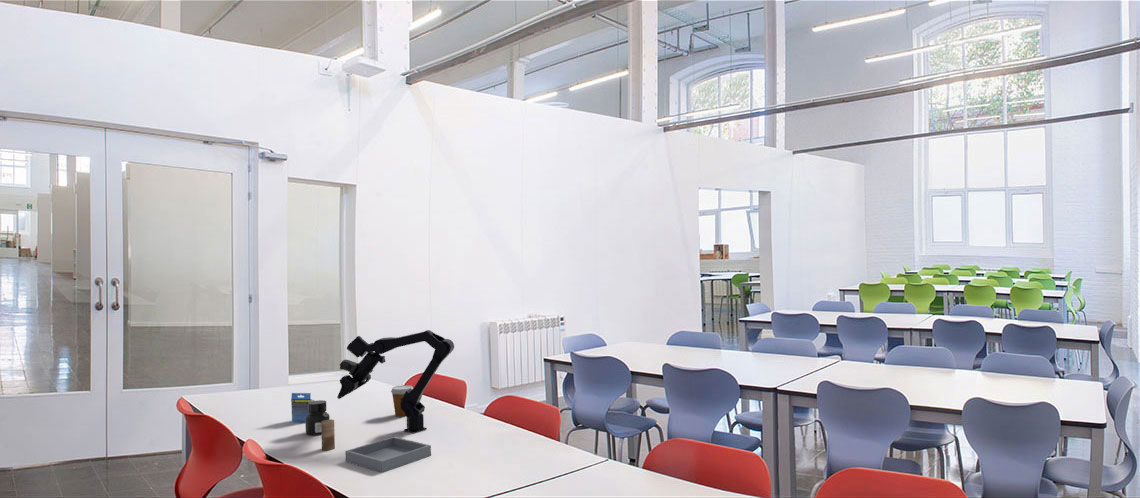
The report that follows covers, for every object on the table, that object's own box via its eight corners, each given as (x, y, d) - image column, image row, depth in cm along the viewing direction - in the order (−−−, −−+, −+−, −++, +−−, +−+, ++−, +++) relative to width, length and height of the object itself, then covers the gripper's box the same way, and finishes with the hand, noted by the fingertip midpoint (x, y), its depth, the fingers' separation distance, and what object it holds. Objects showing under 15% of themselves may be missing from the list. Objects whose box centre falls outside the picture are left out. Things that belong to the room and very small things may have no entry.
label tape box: (316, 419, 274) (315, 390, 274) (311, 422, 270) (310, 393, 270) (296, 419, 275) (295, 391, 275) (291, 422, 271) (290, 393, 271)
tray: (431, 455, 221) (430, 445, 221) (382, 472, 205) (382, 461, 205) (394, 446, 233) (393, 436, 233) (345, 461, 217) (345, 451, 217)
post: (337, 448, 232) (336, 420, 232) (326, 451, 228) (325, 423, 229) (330, 446, 235) (329, 418, 235) (319, 449, 231) (318, 421, 231)
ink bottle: (320, 436, 248) (320, 405, 248) (300, 435, 250) (299, 404, 250) (334, 429, 257) (334, 399, 257) (315, 428, 259) (314, 399, 259)
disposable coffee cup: (411, 417, 273) (410, 389, 273) (388, 418, 273) (388, 389, 273) (416, 412, 283) (416, 384, 283) (395, 412, 283) (394, 385, 283)
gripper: (360, 348, 264) (336, 378, 264) (342, 356, 245) (317, 387, 245) (381, 365, 263) (357, 395, 264) (364, 374, 245) (339, 406, 245)
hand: (342, 395), depth 254 cm, fingers open, 9 cm apart
